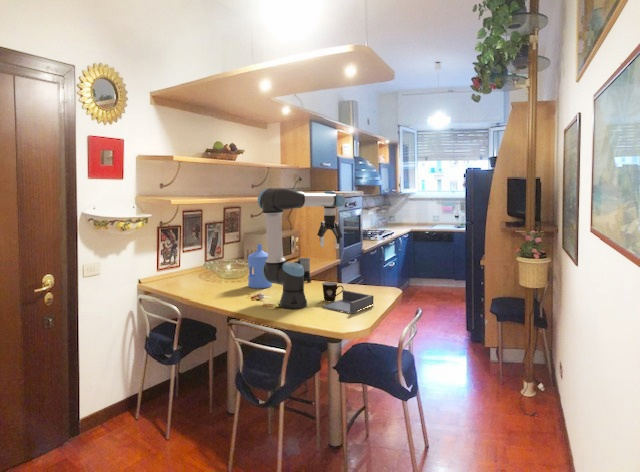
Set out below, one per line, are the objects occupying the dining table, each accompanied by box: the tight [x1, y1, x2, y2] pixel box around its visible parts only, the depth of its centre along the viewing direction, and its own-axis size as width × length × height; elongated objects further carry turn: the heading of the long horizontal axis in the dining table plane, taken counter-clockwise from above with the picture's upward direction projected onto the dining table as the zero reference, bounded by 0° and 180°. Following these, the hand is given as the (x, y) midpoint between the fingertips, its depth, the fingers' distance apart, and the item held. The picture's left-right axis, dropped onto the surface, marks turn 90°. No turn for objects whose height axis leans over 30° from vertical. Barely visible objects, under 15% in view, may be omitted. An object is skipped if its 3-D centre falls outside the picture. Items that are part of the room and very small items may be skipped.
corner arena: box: [321, 289, 374, 314], centre depth 234 cm, size 20×20×6 cm
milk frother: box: [293, 257, 312, 282], centre depth 303 cm, size 14×16×15 cm
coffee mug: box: [321, 281, 344, 302], centre depth 247 cm, size 12×9×10 cm
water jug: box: [247, 244, 273, 290], centre depth 283 cm, size 16×16×28 cm
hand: (329, 247), depth 277 cm, fingers open, 13 cm apart
